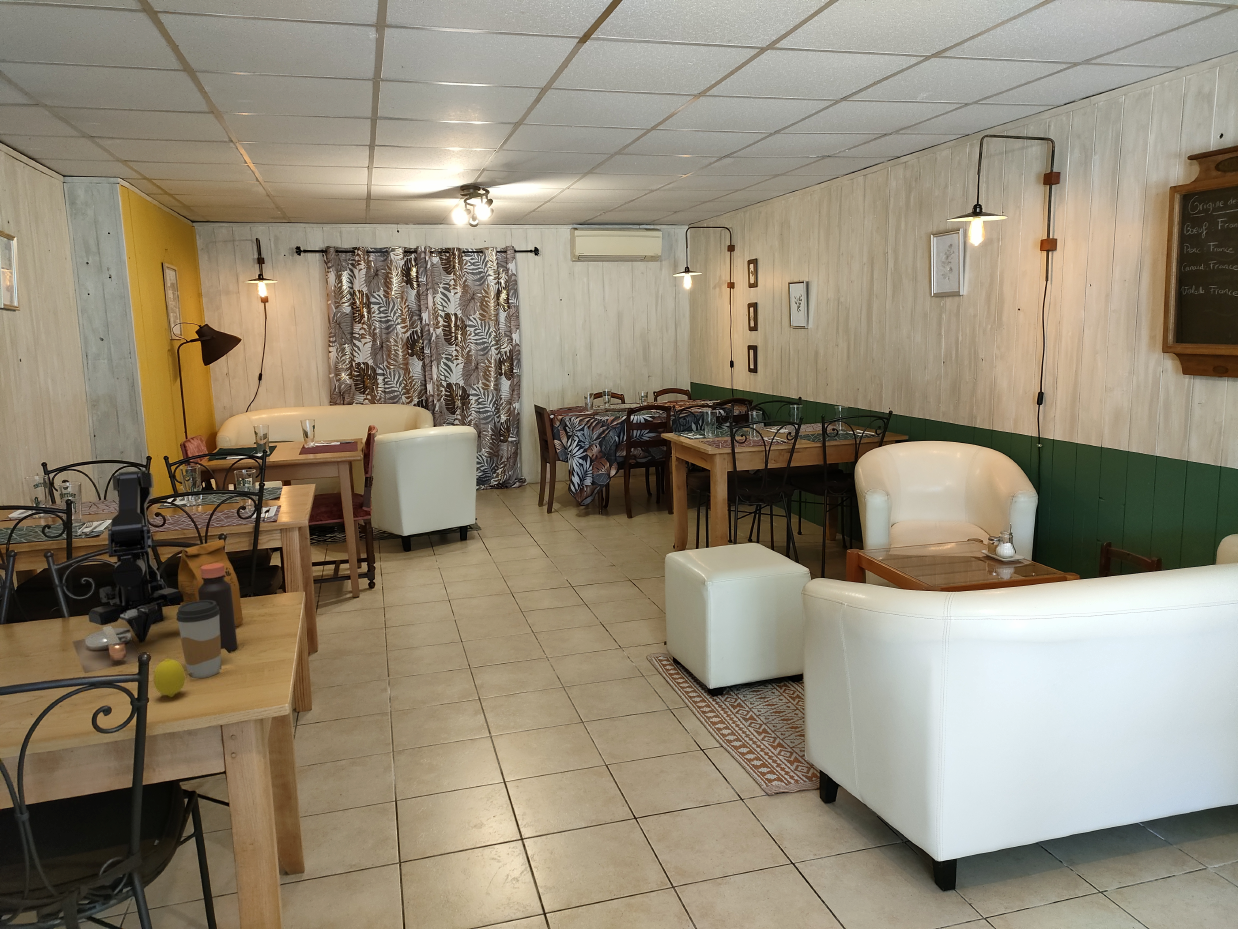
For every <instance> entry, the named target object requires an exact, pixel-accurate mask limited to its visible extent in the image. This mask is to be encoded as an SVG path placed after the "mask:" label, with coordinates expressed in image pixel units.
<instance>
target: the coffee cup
mask: <svg viewBox="0 0 1238 929" xmlns="http://www.w3.org/2000/svg"><path fill="white" fill-rule="evenodd" d="M219 614H220V611H219V607H218V606H217V604H216V602H215V601H212V600H201V601H194V602H190V603H186V604H183V605H181V606H180V605H179V607H178V608H177V612H176V618H175V619H176V621H177V624H178V629H179V634H180V641H181V646H182V652H183V656H184V657H183V658H184V662H185V665H186V670H187V672H189V673H188V675H189V677H190V678H193V679H204V678H208V677H213V676H214V675H217V674H219V672H220V670H221V668H222V666H221V664H222V658H221V657H222V656H221V654H222V649H221V640H220V623H219Z"/></svg>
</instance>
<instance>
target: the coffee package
mask: <svg viewBox="0 0 1238 929" xmlns="http://www.w3.org/2000/svg"><path fill="white" fill-rule="evenodd" d="M225 544H226V543H225V540H224V539H220V540H216V541H211V542H208V543H204V544H199V545H195V546H191V547H188V548H184V549H182V552H181V556H180V562H179V566H178V571H177V572H178V573H177V582H178V583H177V584H178V590H180V591H181V592H182V594H183V598H184V602H182V603H179V604H180V605H179V607H180V606H181V605H183V604H186V603H190V602H194V601H199V595H198V589H199V588H200V586H201V585H202V584H203V580H202V577H201V570H200V567H202V566H204V565H207V564H213V563H222V564H224V568H225V576H224V580H225V581H226V582H228V583H229V584H230V585H231V590H232V600H233V609H234V619H235V628H236V627H239V626H241V625H242V623H243V621H244V616H243V610H242V609H243V608H242V604H241V592H240V584H239V581H238V578H237V574H236V572H235V571H234V567H233V565H232V564H231V561H229V558H228V555H227V553H226V551H225V549H224V547H225Z"/></svg>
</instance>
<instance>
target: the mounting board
mask: <svg viewBox="0 0 1238 929" xmlns="http://www.w3.org/2000/svg"><path fill="white" fill-rule="evenodd" d="M71 642H72V644H73V647H74V649H75V651H76V654H77V657H78V660H79V663H80V664H81V668H82V670H83V672H84V674H86V673H88V674H89V673H92V672H96V671H101V670H105V669H110V668H115V667H119V666H122V665H127V664H131V663H136V662H139V661H138V655H139V654H140V652H139V650H138V648H137V647H136V645H135V643H134V641H133V639H131V641H130V642H129V643H127V644H125V650H126V658H124V659H121V660H116V661H112V660H110V652H109V649H107V650H88V649H87V648H86V641H85V638H82V639H78V640H77V639H76V640H74V641H71ZM140 655H141V654H140Z"/></svg>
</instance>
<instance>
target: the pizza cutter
mask: <svg viewBox="0 0 1238 929" xmlns="http://www.w3.org/2000/svg"><path fill="white" fill-rule="evenodd" d="M131 631H132V630H131V629H130V628H123V627H121V628H118V627H116V628H113V627H112V625H109V626H104V627H102V630H100V631H96V632H93V633H91V634H89V635H88V636H86V637H85V638H84V639H85V641H86V648H87V649H88V650H107V649H109V652H110V660H112V661H116V660H121V659H124V658H126V650H125V644H127V643H129V642H130V641H131V640H132V633H131Z"/></svg>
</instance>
